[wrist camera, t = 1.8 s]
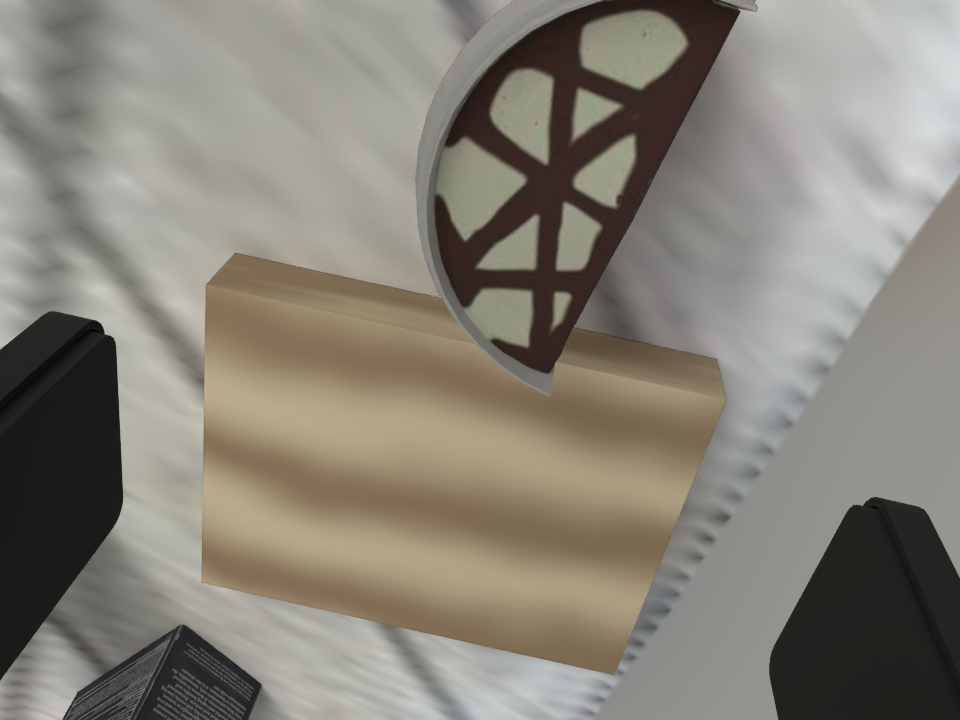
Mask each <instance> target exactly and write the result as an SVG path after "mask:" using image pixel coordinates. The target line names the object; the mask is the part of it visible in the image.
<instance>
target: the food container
mask: <svg viewBox="0 0 960 720" xmlns="http://www.w3.org/2000/svg"><path fill="white" fill-rule="evenodd" d="M755 1H756V0H513V1H512V2H511V3H510V4H508V5H507V6H506V7H504V8H503V9H502V10H501V11H499V12H498V13H497V14H495V15H494V16H493V17H492V18H490V19H489V20H488V21H487V22H486V24H485V25H484V26H483V27H482V28H481V29H480V30H479V31H478V32H477V33H476V34H475V35H474V37H473V38H472V39H471V40H470V41H469V42H468V43H467V44H466V45H465V46H464V47H463V49H462V50H461V52H460V53H459V55H458V56H457V58H456V59H455V61H454V62H453V64H452V65H451V67H450V68H449V70H448V72H447V73H446V75H445V76H444V78H443V79H442V82H441V84H440V86H439V88H438V90H437V93H436V95H435V97H434V99H433V101H432V104H431V106H430V108H429V110H428V113H427V117H426V121H425V124H424V128H423V132H422V136H421V139H420V143H419V149H418V159H417V169H416V179H415V180H416V196H417V213H418V229H419V234H420V238H421V243H422V247H423V252H424V257H425V261H426V263H427V266H428V268H429V271H430V274H431V276H432V279H433V281H434V284H435V286H436V289H437V291H438V293H439V294H440V296H441V298H442V299H443V301H444V303H445V304H446V306H447V308H448V310H449V311H450V313H451V315H452V316H453V318H454V319H455V320H456V321H457V323H458V325H459V326H460V327H461V328H462V329H463V331H464V332H465V333H466V334H467V336H468V337H469V338H470V339H471V340H472V342H473V343H474V344H475V345H476V347H477V348H478V349H479V350H481V351H482V352H483V353H484V354H485V355H486V356H487V357H488V358H489V359H491V360H492V361H493V362H494V363H495V364H496V365H497V366H498V367H499V368H501V369H502V370H504V371H505V372H507V373H508V374H510V375H511V376H513V377H514V378H516V379H517V380H519V381H520V382H522V383H523V384H525V385H527V386H529V387H531V388H533V389H535V390H537V391H539V392H541V393H543V394H545V395H547V396H550V394H551V388H552V381H553V374H554V368H555V363H556V361H557V360H558V358H559V357H560V356H561V354H562V351H563V348H564V345H565V343H566V341H567V339H568V337H569V335H570V333H571V331H572V329H573V327H574V325H575V323H576V321H577V320H578V318H579V316H580V314H581V312H582V310H583V309H584V307H585V305H586V303H587V301H588V299H589V297H590V296H591V294H592V292H593V290H594V288H595V286H596V285H597V283H598V281H599V279H600V277H601V275H602V274H603V272H604V270H605V268H606V266H607V265H608V263H609V261H610V259H611V257H612V256H613V254H614V252H615V250H616V249H617V247H618V245H619V243H620V242H621V240H622V238H623V236H624V235H625V233H626V231H627V229H628V228H629V226H630V224H631V222H632V221H633V219H634V217H635V215H636V213H637V211H638V209H639V207H640V205H641V203H642V201H643V199H644V197H645V195H646V193H647V191H648V189H649V187H650V185H651V183H652V181H653V179H654V176H655V174H656V172H657V170H658V169H659V167H660V165H661V163H662V161H663V159H664V157H665V155H666V153H667V151H668V149H669V147H670V145H671V143H672V142H673V140H674V138H675V136H676V134H677V132H678V130H679V128H680V126H681V124H682V122H683V120H684V118H685V117H686V115H687V113H688V111H689V109H690V107H691V105H692V103H693V101H694V100H695V98H696V96H697V94H698V92H699V90H700V88H701V86H702V84H703V82H704V81H705V79H706V77H707V75H708V73H709V71H710V69H711V67H712V65H713V64H714V62H715V60H716V58H717V56H718V54H719V52H720V50H721V48H722V46H723V44H724V42H725V40H726V38H727V37H728V35H729V33H730V31H731V29H732V27H733V25H734V23H735V21H736V19H737V17H738V15H739V13H740V10H739V9H744V10H749V11H755V12H757V10H758V7H757V5H756V4H755ZM738 8H739V9H738Z"/></svg>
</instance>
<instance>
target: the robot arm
mask: <svg viewBox="0 0 960 720" xmlns="http://www.w3.org/2000/svg"><path fill="white" fill-rule="evenodd" d="M122 504H123V485H122V463H121V442H120V420H119V399H118V377H117V355H116V344H115V341H114V338H113V337H111V336H109V335H105V334H104V329H103V327H102V325H101V324H100V323H99V322H98V321H95V320H91V319H86V318H82V317H78V316H73V315H69V314H64V313H60V312H48V313H46V314H44V315H43V316H42V317H40V318H39V319H38V320H37V321H35V322H34V323H33V324H32V325H30V326H29V327H28V328H27V329H25V330H24V331H23V332H22V333H20V334H19V335H18V336H17V337H15V338H14V339H13V340H12V341H10V342H9V343H8V344H7V345H6V346H4V347H3V348H2V349H1V350H0V680H1V679H2V677H3V676H4V675H5V673H6V672H7V671H8V669H9V668H10V666H11V665H12V664H13V662H14V661H15V660H16V658H17V657H18V656H19V654H20V653H21V652H22V650H23V649H24V648H25V646H26V645H27V643H28V642H29V641H30V639H31V638H32V637H33V635H34V634H35V633H36V631H37V630H38V629H39V627H40V626H41V625H42V623H43V622H44V620H45V619H46V618H47V616H48V615H49V614H50V612H51V611H52V610H53V608H54V607H55V606H56V604H57V603H58V602H59V600H60V599H61V597H62V596H63V595H64V593H65V592H66V591H67V589H68V588H69V587H70V585H71V584H72V583H73V581H74V580H75V579H76V577H77V576H78V574H79V573H80V572H81V570H82V569H83V568H84V566H85V565H86V564H87V562H88V561H89V560H90V558H91V557H92V556H93V554H94V553H95V551H96V550H97V549H98V547H99V546H100V545H101V543H102V542H103V541H104V539H105V538H106V537H107V535H108V534H109V533H110V531H111V530H112V528H113V527H114V525H115V524H116V522H117V520H118V518H119V515H120V512H121V509H122ZM769 673H770V680H771V686H772V690H773V695H774V700H775V705H776V710H777V715H778V720H960V578H959V576H958V574H957V572H956V570H955V568H954V566H953V564H952V562H951V560H950V558H949V556H948V554H947V552H946V550H945V548H944V546H943V544H942V542H941V540H940V538H939V536H938V534H937V532H936V530H935V528H934V526H933V524H932V522H931V520H930V518H929V516H928V514H927V513H926V511H925V510H924V509H922V508H920V507H917V506H913V505H908V504H904V503H900V502H896V501H891V500H886V499H882V498H878V497H874V498H870V499H869V500H868V501H866V502H865V504H864V505H863V506H860V505H853V506H852V507H851V508H850V509H849V510H848V511H847V513H846V515H845V516H844V518H843V520H842V522H841V524H840V526H839V527H838V529H837V531H836V533H835V535H834V537H833V538H832V540H831V542H830V544H829V546H828V548H827V550H826V552H825V553H824V555H823V557H822V559H821V561H820V562H819V564H818V566H817V568H816V570H815V572H814V573H813V575H812V577H811V579H810V581H809V583H808V585H807V586H806V588H805V590H804V592H803V594H802V596H801V598H800V599H799V601H798V603H797V605H796V607H795V608H794V611H793V612H792V614H791V616H790V618H789V620H788V621H787V623H786V625H785V627H784V629H783V631H782V632H781V634H780V636H779V638H778V640H777V642H776V643H775V646H774V648H773V650H772V653H771V657H770V664H769Z"/></svg>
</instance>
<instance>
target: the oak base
mask: <svg viewBox="0 0 960 720" xmlns="http://www.w3.org/2000/svg"><path fill="white" fill-rule="evenodd" d="M725 402H726V396H725V392H724V387H723V383H722V379H721V375H720V370H719V366H718V362H717V359H713V358H709V357H704V356H700V355H695V354H691V353H686V352H682V351H677V350H672V349H668V348H663V347H659V346H654V345H650V344H645V343H641V342H636V341H632V340H627V339H623V338H618V337H613V336H609V335H604V334H600V333H595V332H591V331H586V330H582V329H577V328H573V329H572V331H571V333H570V335H569V337H568V339H567V341H566V343H565V345H564V348H563V351H562V354H561V356H560V357H559V358H558V360H557V361H556V363H555V368H554V374H553V381H552V388H551V394H550V396H547V395H545V394H543V393H541V392H539V391H537V390H535V389H533V388H531V387H529V386H527V385H525V384H523V383H522V382H520V381H519V380H517V379H516V378H514V377H513V376H511V375H510V374H508V373H507V372H505V371H504V370H502V369H501V368H499V367H498V366H497V365H496V364H495V363H494V362H493V361H492V360H491V359H489V358H488V357H487V356H486V355H485V354H484V353H483V352H482V351H481V350H479V349H478V348H477V347H476V345H475V344H474V343H473V342H472V340H471V339H470V338H469V337H468V336H467V334H466V333H465V332H464V331H463V329H462V328H461V327H460V326H459V325H458V323H457V321H456V320H455V319H454V318H453V316H452V315H451V313H450V311H449V310H448V308H447V306H446V304H445V303H444V301H443V299H441V298H437V297H432V296H428V295H423V294H418V293H414V292H409V291H405V290H400V289H396V288H391V287H387V286H382V285H378V284H373V283H369V282H364V281H359V280H355V279H350V278H346V277H341V276H337V275H332V274H328V273H323V272H319V271H314V270H310V269H305V268H301V267H296V266H291V265H287V264H282V263H278V262H273V261H269V260H264V259H260V258H255V257H251V256H246V255H242V254H237V253H235V254H234V255H233V256H232V257H231V258H230V259H229V260H228V261H227V262H226V263H225V265H224V266H223V267H222V268H221V269H220V270H219V271H218V272H217V273H216V274H215V275H214V276H213V277H212V279H211V280H210V281H209V282H208V283H207V284H206V310H205V380H204V450H203V520H202V583H206V584H210V585H215V586H219V587H223V588H228V589H232V590H237V591H241V592H246V593H250V594H255V595H259V596H264V597H268V598H273V599H277V600H281V601H286V602H290V603H295V604H299V605H304V606H308V607H313V608H317V609H322V610H326V611H331V612H335V613H339V614H344V615H348V616H353V617H357V618H362V619H366V620H371V621H375V622H380V623H384V624H388V625H393V626H397V627H402V628H406V629H411V630H415V631H420V632H424V633H429V634H433V635H438V636H442V637H446V638H451V639H455V640H460V641H464V642H469V643H473V644H478V645H482V646H487V647H491V648H496V649H500V650H504V651H509V652H513V653H518V654H522V655H527V656H531V657H536V658H540V659H545V660H549V661H553V662H558V663H562V664H567V665H571V666H576V667H580V668H585V669H589V670H594V671H598V672H603V673H607V674H611V675H615V672H616V670H617V667H618V665H619V662H620V660H621V658H622V655H623V653H624V650H625V648H626V645H627V643H628V640H629V638H630V635H631V633H632V631H633V628H634V626H635V623H636V621H637V618H638V616H639V613H640V611H641V608H642V606H643V603H644V601H645V599H646V596H647V594H648V591H649V589H650V586H651V584H652V581H653V579H654V576H655V574H656V572H657V569H658V567H659V564H660V562H661V559H662V557H663V554H664V552H665V549H666V547H667V544H668V542H669V540H670V537H671V535H672V532H673V530H674V527H675V525H676V522H677V520H678V517H679V515H680V513H681V510H682V508H683V505H684V503H685V500H686V498H687V495H688V493H689V490H690V488H691V485H692V483H693V481H694V478H695V476H696V473H697V471H698V468H699V466H700V463H701V461H702V458H703V456H704V454H705V451H706V449H707V446H708V444H709V441H710V439H711V436H712V434H713V431H714V429H715V426H716V424H717V422H718V419H719V417H720V414H721V412H722V409H723V407H724V404H725Z"/></svg>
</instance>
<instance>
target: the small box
mask: <svg viewBox="0 0 960 720" xmlns="http://www.w3.org/2000/svg"><path fill="white" fill-rule="evenodd" d="M260 688H261V684H260V683H259V682H258V681H256V680H255V679H254V678H252V677H251V676H250V675H249V674H247V673H246V672H245V671H243V670H242V669H241V668H240V667H238V666H237V665H236V664H234V663H233V662H232V661H230V660H229V659H228V658H227V657H225V656H224V655H223V654H221V653H220V652H219V651H218V650H216V649H215V648H214V647H212V646H211V645H210V644H208V643H207V642H206V641H204V640H203V639H202V638H201V637H199V636H198V635H197V634H195V633H194V632H193V631H191V630H190V629H189V628H187V627H186V626H184V625H180V626H178V627H177V628H175V629H174V630H172V631H171V632H169V633H167V634H166V635H164V636H163V637H161V638H160V639H158V640H157V641H155V642H154V643H152V644H150V645H149V646H147V647H146V648H144V649H143V650H141V651H140V652H138V653H137V654H135V655H133V656H132V657H131V658H129V659H128V660H126V661H124V662H123V663H121V664H120V665H118V666H117V667H115V668H114V669H112V670H111V671H109V672H108V673H106V674H105V675H103V676H102V677H100V678H98V679H97V680H95V681H94V682H92V683H91V684H90V685H88V686H87V687H85V688H84V689H82V690H80V691H79V692H78V693H77V695H76V697H75V698H74V700H73V702H72V704H71V705H70V707H69V709H68V710H67V712H66V714H65V716H64V718H63V720H248V719H249V717H250V714H251V712H252V709H253V707H254V704H255V701H256V699H257V696H258V694H259V691H260Z"/></svg>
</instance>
